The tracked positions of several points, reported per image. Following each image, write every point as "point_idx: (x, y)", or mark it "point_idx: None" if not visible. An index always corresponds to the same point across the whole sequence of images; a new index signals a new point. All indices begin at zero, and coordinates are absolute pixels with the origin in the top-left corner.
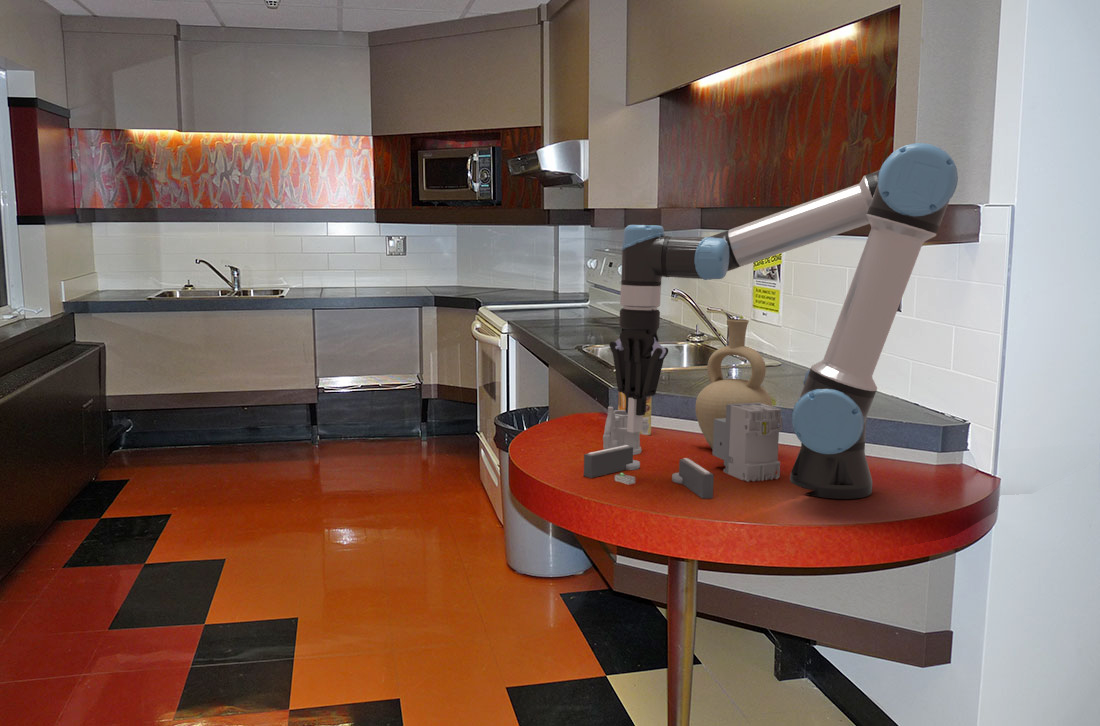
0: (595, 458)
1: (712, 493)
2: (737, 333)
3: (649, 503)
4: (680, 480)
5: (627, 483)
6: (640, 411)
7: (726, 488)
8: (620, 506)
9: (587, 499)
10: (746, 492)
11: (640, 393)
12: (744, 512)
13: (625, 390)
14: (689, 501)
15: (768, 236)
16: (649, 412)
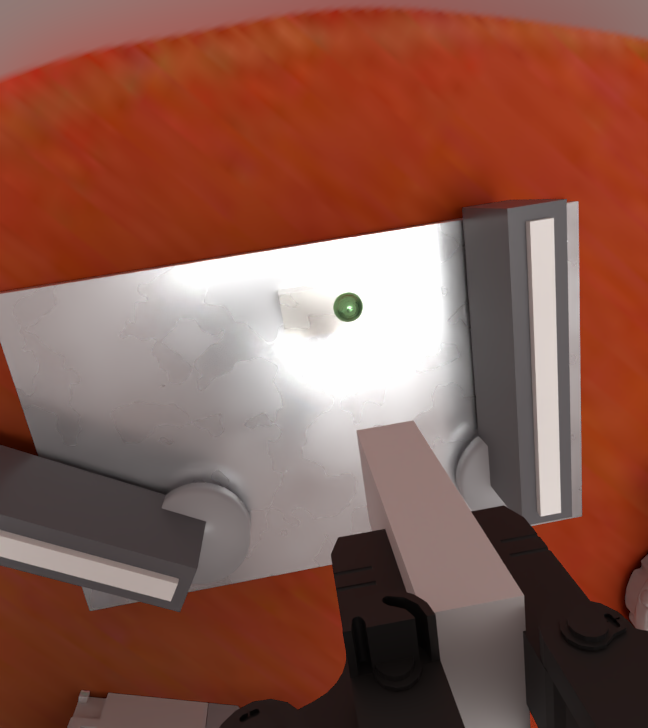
0: (500, 240)
1: None
2: None
3: (69, 239)
4: (170, 497)
5: (285, 289)
6: (335, 563)
7: (117, 636)
8: (86, 85)
9: (263, 21)
10: (36, 661)
11: (359, 725)
12: None
13: (645, 661)
14: (21, 407)
15: None
16: None
